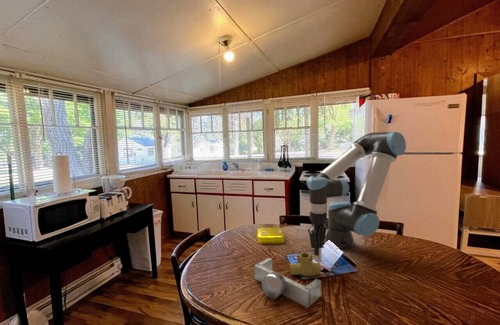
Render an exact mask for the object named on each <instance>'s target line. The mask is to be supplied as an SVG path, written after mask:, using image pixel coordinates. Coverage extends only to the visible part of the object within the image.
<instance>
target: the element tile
mask: <svg viewBox="0 0 500 325" xmlns="http://www.w3.org/2000/svg"><path fill="white" fill-rule="evenodd" d="M283 230H284V229H283V228H282V227H258V228H257V243H258V244H260V245H261V244H262V245H264V244H266V245H267V244H271V245H273V244H284V243H285V234H284V231H283Z"/></svg>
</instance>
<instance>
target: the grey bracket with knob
mask: <svg viewBox="0 0 500 325" xmlns="http://www.w3.org/2000/svg"><path fill="white" fill-rule="evenodd" d="M253 267H254V280H256V281H258V282H260V283H261V287H262V290H263V292H264V294H265V295H266V296H267V298H269V299H272V300H275V299H277V298H278V297H279V296H281V295H283V296H284V297H286V298H288V299H290V300H292V301H294V302H295V303H298V304H300V305H301V306H303V307H305V308H307V309H308V308H309V307H310V306H311V305H313V304H314V303H315V302H316V301H317V300H319V298H321V296H322V280H320V279H318V278H315V279H314V280H313V281H311V282H309V284H307V285H306V286H305V285H303V284H300V283H298V282H297V281H295V280H293V279H291V278H288V277H286V276H284V275H283V274H281V273H280V272H279V271H274V270H273V259H272V258H270V257H267V258H265V259H264V260H261V261H260V262H258V263H255V264H254V266H253Z"/></svg>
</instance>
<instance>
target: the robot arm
mask: <svg viewBox="0 0 500 325" xmlns="http://www.w3.org/2000/svg"><path fill="white" fill-rule="evenodd" d="M406 150H407V142H406V139H405V137H404V135H403V134H402V133H401V132H398V131H386V132H385V131H384V132H383V131H381V132H380V131H379V132H378V131H377V132H369V133H366V134H364V135H363V136H361V137H360V138H358V139H357V140H354V142H352V144H351V143H350V146H349V148H348V149H347V150H346V151H345V152H343V153H342V154H341V155H340V156H339V157H337V158H336V159H335V160H334V161H333V162H331V163H330V164H329V165H328V166H327V167H325V168H324V169H323V170H321V171H320V172H319V173H318V174H317V175H311V176H309V177H308V178H307V179H306V186H307V188H308V189H309V220H310V222H311V225H310V226H311V228H308V229H307V232H308V234H309V240H310V245H311V248H312V249H314V250H313V252H314V254H313V255H314V262H315V263H320V264H321V263H322V249H324V248H325V246H324V245H325V244H326V243H325V242H327V241H328V240H330V241H331V242H333V243H334V244H335V245H336V246H337V247H339V248H340V249H339V250H347V249H351V248H353V247H354V246H355V239H354V235H353V233H355V234H358V235H360V236H362V237H363V236H364V237H369V236H371V235H373V234H374V233H376V232H377V230H378V229H379V226H380V221H379V220H380V218H379V216H378V215H377V214H378V210H377V209H376V207H377V204H378V201H379V198H380V195H381V192H382V190H383V187H384V184H385V180H386V178H387V175H388V173H389V169H390V167H391V164H392V163H394V162H396V160H397V158H398V157H399V156H402V155H403V154H404V153H405V152H406ZM368 155H371V157H372V160H371V163H370V165H369V167H368V170H367V173H366V175H365V179H364V181H363V183H362V184H363V185H362V186H361V190H360V193H359V195H358V198H357V201H354V202H353V203H352V202H349V201H341V200H340V201H333V202H330V203H329V204H327V203H328V199H329V198H333V197H334V198H336V197H343V196H346V195H348V193H349V191H350V185H349V183H348V181H347V180H344V179H337V178H339V177H340V176H342V175H343V173H344V172H345V171H347V170H348V169H349V168H351V166H353V165H354V164H355V163H356V162H358V160H360V159H364V158H365V157H366V156H368ZM336 179H337V180H336ZM327 212H328V213H327ZM327 220H328V222H327V223H325V222H326V221H327Z"/></svg>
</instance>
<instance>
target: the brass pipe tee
mask: <svg viewBox="0 0 500 325" xmlns="http://www.w3.org/2000/svg"><path fill="white" fill-rule="evenodd" d="M296 257H297V258H296V259H297V262H296V263H294V262H293V263H289V268H290V269H289V270H290V276H303V277H305V276H306V277H316V275H317V276H318V275H321V274H322V269H321V262H320V263H319V262H315V261H313V254H311V253H309V252H307V251H303V252H301V253H299V254H297V255H296Z"/></svg>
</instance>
